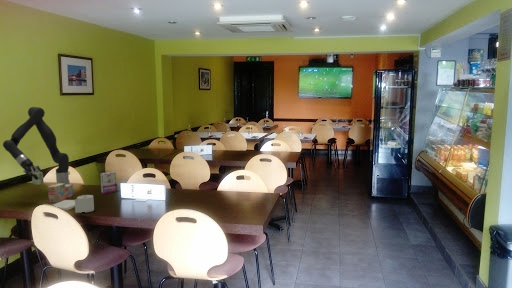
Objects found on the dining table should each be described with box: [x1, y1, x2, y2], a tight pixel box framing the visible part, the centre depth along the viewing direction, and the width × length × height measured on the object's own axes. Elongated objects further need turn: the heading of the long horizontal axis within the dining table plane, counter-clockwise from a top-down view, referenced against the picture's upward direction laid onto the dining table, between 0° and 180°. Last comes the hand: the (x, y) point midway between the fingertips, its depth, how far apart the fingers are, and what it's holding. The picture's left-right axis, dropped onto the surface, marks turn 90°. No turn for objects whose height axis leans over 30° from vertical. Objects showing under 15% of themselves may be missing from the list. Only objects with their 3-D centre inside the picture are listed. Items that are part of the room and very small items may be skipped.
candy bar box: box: [99, 171, 117, 195], centre depth 347 cm, size 11×5×16 cm, turn 129°
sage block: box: [31, 171, 44, 186], centre depth 309 cm, size 5×5×8 cm
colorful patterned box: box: [47, 182, 74, 204], centre depth 327 cm, size 21×6×12 cm, turn 169°
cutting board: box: [53, 199, 75, 211], centre depth 307 cm, size 20×16×2 cm
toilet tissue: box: [74, 194, 95, 214], centre depth 293 cm, size 11×12×10 cm
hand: (40, 178), depth 309 cm, fingers closed on sage block, 5 cm apart
